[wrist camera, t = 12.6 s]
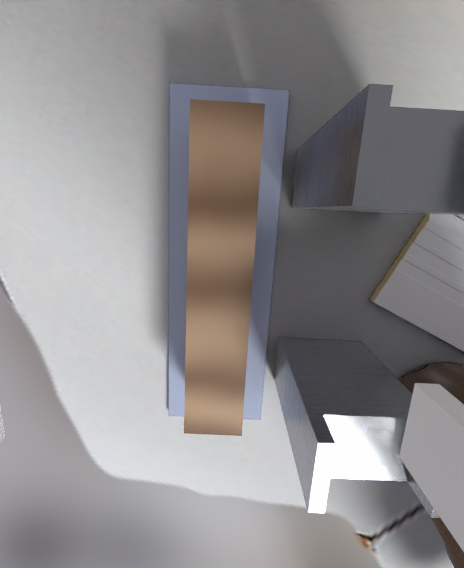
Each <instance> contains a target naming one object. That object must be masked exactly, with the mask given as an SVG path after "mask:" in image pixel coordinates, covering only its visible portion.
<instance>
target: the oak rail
mask: <svg viewBox="0 0 464 568" xmlns="http://www.w3.org/2000/svg"><path fill="white" fill-rule="evenodd" d="M264 113H265V104H263V103H246V102H229V101H212V100H195V99H190V127H189V184H188V241H187V298H186V355H185V412H184V433H191V434H213V435H236V436H242V423H243V409H244V395H245V381H246V367H247V352H248V338H249V324H250V310H251V296H252V282H253V268H254V254H255V240H256V226H257V212H258V198H259V184H260V170H261V156H262V141H263V127H264Z"/></svg>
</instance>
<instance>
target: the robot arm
mask: <svg viewBox="0 0 464 568" xmlns="http://www.w3.org/2000/svg"><path fill="white" fill-rule="evenodd" d="M4 438H5V434H4V427H3V420H2V413H1V405H0V442H1V440H3V439H4ZM399 457H400V459H401V460H402V462H403V463H404V465H405V466H406V468H407V469H408V471H409V472H410V474H411V475H412V477H413V478H414V480H415V481H416V483H417V484H418V486H419V487H420V488H421V490H422V491H423V493H424V494H425V496H426V497H427V499H428V500H429V502H430V503H431V505H432V506H433V508H434V509H435V511H436V512H437V514H438V515H439V516H440V518H441V519H442V521H443V522H444V524H445V525H446V527H447V528H448V530H449V531H450V533H451V534H452V536H453V537H454V539H455V540H456V542H457V543H458V545H459V546H460V547H461V549H462V550H463V552H464V404H463V403H461V402H460V401H459V400H458V399H457V398H455V397H454V396H453V395H452V394H451V393H449V392H448V391H447V390H446V389H445V388H443V387H442V386H441V385H440V384H427V383H415V385H414V390H413V394H412V399H411V404H410V408H409V413H408V418H407V422H406V427H405V432H404V436H403V441H402V446H401V450H400V455H399Z"/></svg>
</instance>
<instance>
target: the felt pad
mask: <svg viewBox="0 0 464 568" xmlns="http://www.w3.org/2000/svg"><path fill="white" fill-rule="evenodd" d="M190 99H195V100H212V101H229V102H246V103H263V104H265V113H264V127H263V141H262V156H261V170H260V184H259V198H258V212H257V226H256V240H255V254H254V268H253V282H252V296H251V310H250V324H249V338H248V352H247V367H246V381H245V395H244V409H243V419H249V420H261V409H262V398H263V386H264V375H265V363H266V352H267V341H268V329H269V318H270V306H271V295H272V283H273V272H274V261H275V249H276V238H277V226H278V215H279V203H280V192H281V181H282V169H283V158H284V146H285V135H286V123H287V112H288V101H289V90H277V89H261V88H244V87H227V86H211V85H194V84H177V83H170V151H169V416H183V417H184V412H185V355H186V298H187V241H188V184H189V127H190Z"/></svg>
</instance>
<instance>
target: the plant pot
mask: <svg viewBox="0 0 464 568" xmlns="http://www.w3.org/2000/svg"><path fill="white" fill-rule="evenodd" d="M399 381H400V382H401V383H402V384H403V385H404V386H405V387H406V388H407V389H408V390H409V391H410V392H411V393H412V394H413V390H414V385H415V383H427V384H440V385H441V386H442V387H443V388H445V389H446V390H447V391H448V392H449V393H451V394H452V395H453V396H454V397H455V398H457V399H458V400H459V401H460V402H461V403H463V404H464V365H461V364H457V363H450V362H441V363H433V364H428V365H427V366H426V367H425V368H424V369H422V370H420V371H417V372H413V373H408V374H407V375H405V376H404V377H403V378H402V379H400V380H399ZM432 520H433V522H434V523H435V525H436V527H437V529H438V531H439V532H440V534H441V536H442V538H443V539H444V541H445V545H446V550H447V553H448V556H449V558H450V560H451V562H452V564H453V566H454V568H464V552H463V550H462V549H461V547H460V546H459V545H458V543H457V542H456V540H455V539H454V537H453V536H452V534H451V533H450V531H449V530H448V528H447V527H446V525H445V524H444V522H443V521H442V519H441V518H432Z"/></svg>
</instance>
